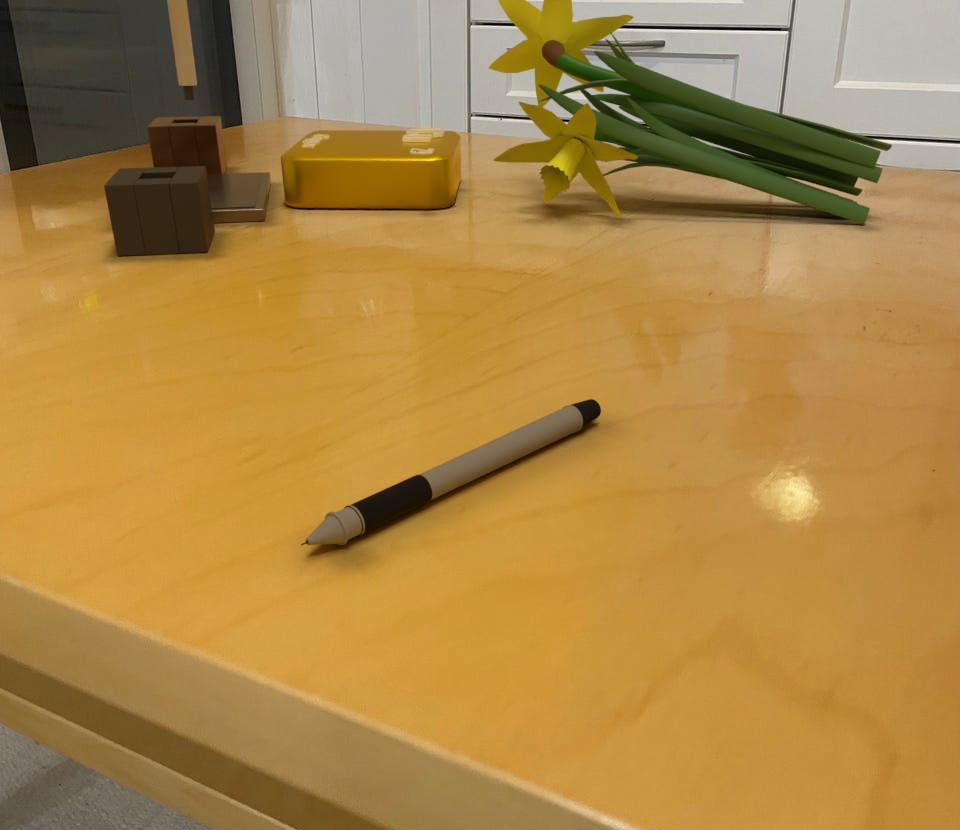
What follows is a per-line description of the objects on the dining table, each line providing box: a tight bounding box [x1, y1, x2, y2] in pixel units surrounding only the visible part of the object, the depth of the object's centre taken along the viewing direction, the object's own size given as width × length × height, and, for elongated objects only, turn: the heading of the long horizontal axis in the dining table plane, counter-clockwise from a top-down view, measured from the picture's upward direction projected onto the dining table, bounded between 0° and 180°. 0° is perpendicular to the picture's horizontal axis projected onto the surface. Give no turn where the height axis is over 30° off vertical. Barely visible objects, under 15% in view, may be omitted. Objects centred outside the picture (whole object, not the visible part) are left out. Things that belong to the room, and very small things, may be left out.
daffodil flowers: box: [488, 0, 893, 225], centre depth 78 cm, size 17×15×35 cm
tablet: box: [207, 171, 272, 224], centre depth 83 cm, size 12×16×1 cm
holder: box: [103, 166, 216, 257], centre depth 70 cm, size 6×6×5 cm
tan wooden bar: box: [166, 0, 198, 101], centre depth 81 cm, size 2×2×14 cm
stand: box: [146, 115, 228, 174], centre depth 94 cm, size 6×6×5 cm
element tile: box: [280, 127, 462, 210], centre depth 86 cm, size 15×15×5 cm
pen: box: [300, 398, 602, 546], centre depth 38 cm, size 1×16×1 cm, turn 136°
